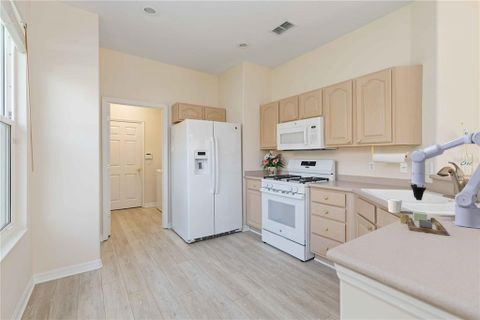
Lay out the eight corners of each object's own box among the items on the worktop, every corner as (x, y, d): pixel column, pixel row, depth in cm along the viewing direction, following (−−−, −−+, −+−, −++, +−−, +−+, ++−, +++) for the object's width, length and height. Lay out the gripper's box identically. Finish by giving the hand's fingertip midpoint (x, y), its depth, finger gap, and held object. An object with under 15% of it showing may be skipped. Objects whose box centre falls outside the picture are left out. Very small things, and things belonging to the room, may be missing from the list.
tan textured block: (405, 221, 111) (405, 213, 111) (405, 223, 108) (405, 215, 108) (400, 221, 112) (400, 213, 112) (400, 222, 109) (400, 214, 109)
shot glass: (404, 213, 126) (404, 201, 126) (392, 213, 127) (392, 201, 126) (396, 210, 133) (396, 198, 133) (384, 210, 133) (384, 198, 133)
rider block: (425, 220, 114) (425, 212, 114) (426, 222, 110) (427, 214, 110) (412, 218, 117) (412, 210, 117) (414, 221, 113) (414, 213, 113)
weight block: (430, 229, 99) (430, 220, 99) (432, 232, 96) (432, 223, 96) (419, 228, 101) (419, 219, 101) (420, 230, 98) (420, 221, 98)
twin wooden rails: (434, 220, 112) (434, 218, 112) (445, 235, 92) (446, 231, 92) (404, 217, 118) (404, 214, 118) (409, 230, 99) (409, 226, 99)
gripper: (407, 172, 128) (407, 196, 128) (410, 174, 116) (409, 200, 116) (423, 172, 124) (422, 197, 125) (428, 174, 112) (427, 202, 112)
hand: (417, 199), depth 120 cm, fingers open, 7 cm apart
